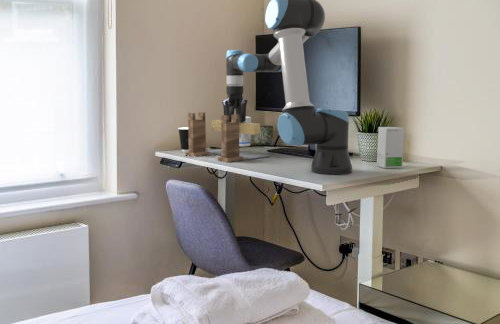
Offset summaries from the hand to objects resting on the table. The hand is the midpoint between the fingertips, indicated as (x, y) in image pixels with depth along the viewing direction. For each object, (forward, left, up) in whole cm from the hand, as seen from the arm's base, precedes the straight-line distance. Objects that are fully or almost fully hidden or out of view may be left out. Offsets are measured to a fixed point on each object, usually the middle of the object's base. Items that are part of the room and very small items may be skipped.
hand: (235, 137), depth 247 cm
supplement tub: (+21, -24, -8) cm, 33 cm away
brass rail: (0, 0, +3) cm, 3 cm away
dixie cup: (+25, +8, -8) cm, 27 cm away
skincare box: (-67, -20, -8) cm, 70 cm away
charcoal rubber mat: (0, 0, -8) cm, 8 cm away
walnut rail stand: (0, +13, -8) cm, 15 cm away
